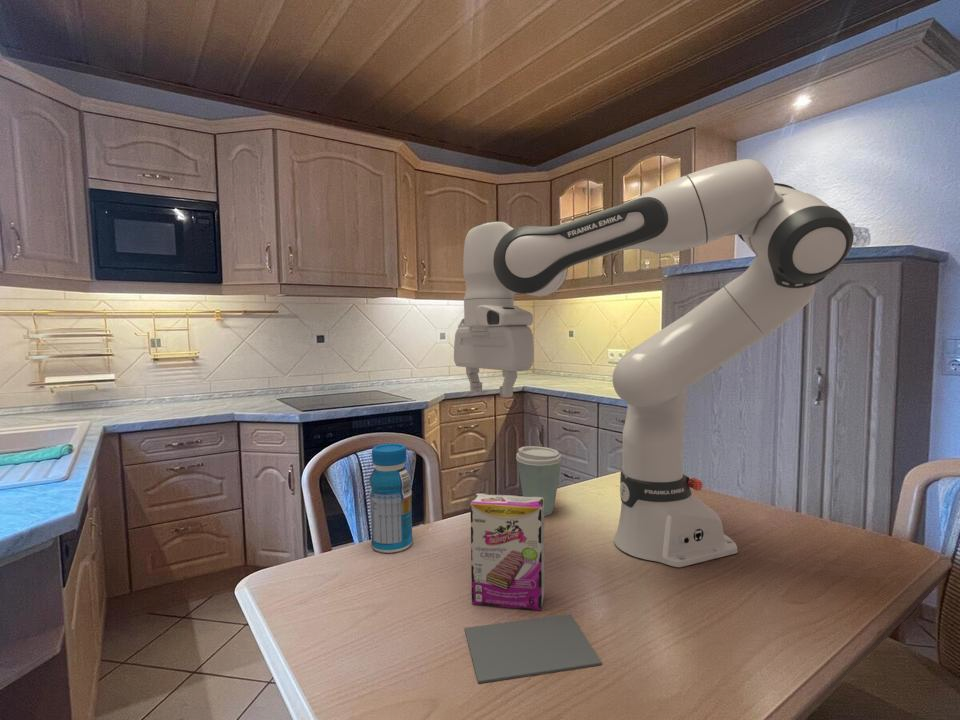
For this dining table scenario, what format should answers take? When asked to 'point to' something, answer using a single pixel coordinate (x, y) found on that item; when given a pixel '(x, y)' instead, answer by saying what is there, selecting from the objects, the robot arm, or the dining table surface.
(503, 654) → the mat
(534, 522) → the candy bar box
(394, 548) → the beverage bottle
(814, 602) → the dining table surface
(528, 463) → the disposable coffee cup
